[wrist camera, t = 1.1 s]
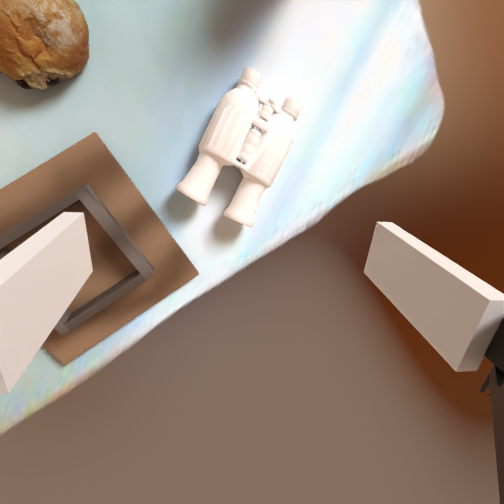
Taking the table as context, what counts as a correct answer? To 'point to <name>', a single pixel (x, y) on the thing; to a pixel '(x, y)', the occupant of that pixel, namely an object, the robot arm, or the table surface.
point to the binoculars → (243, 146)
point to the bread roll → (42, 41)
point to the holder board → (96, 241)
